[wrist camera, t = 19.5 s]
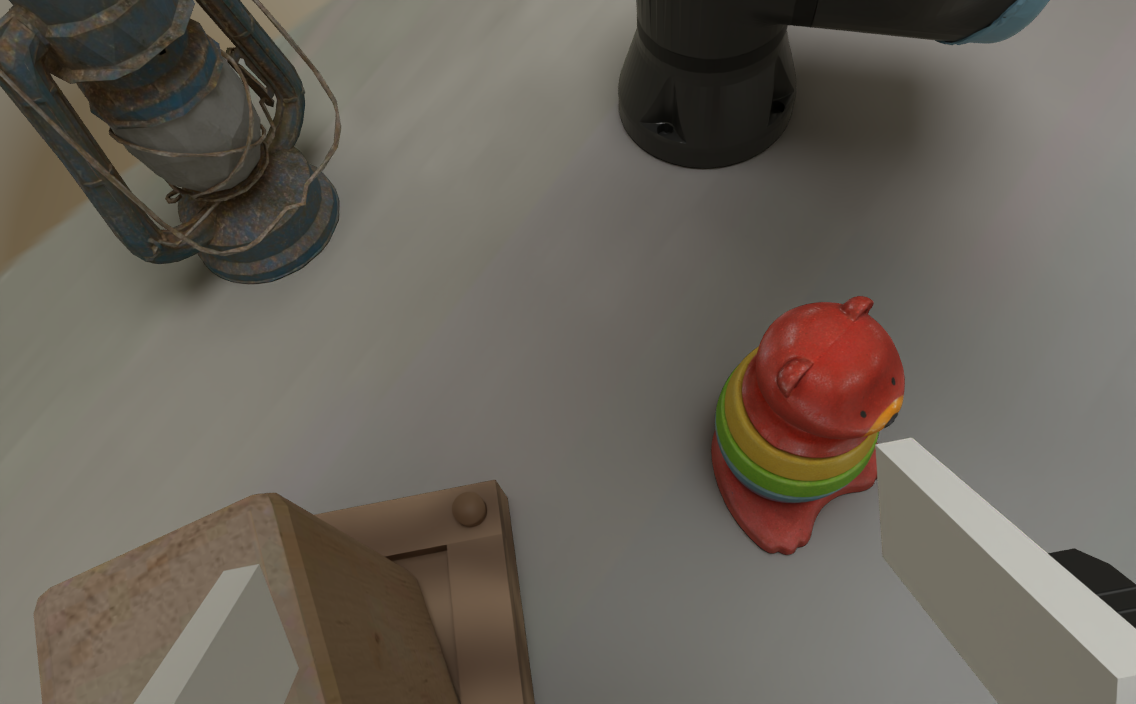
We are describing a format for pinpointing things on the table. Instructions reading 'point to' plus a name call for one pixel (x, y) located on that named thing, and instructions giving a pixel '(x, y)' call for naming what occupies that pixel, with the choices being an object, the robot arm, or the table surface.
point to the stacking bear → (805, 419)
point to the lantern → (178, 127)
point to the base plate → (458, 581)
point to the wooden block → (299, 591)
